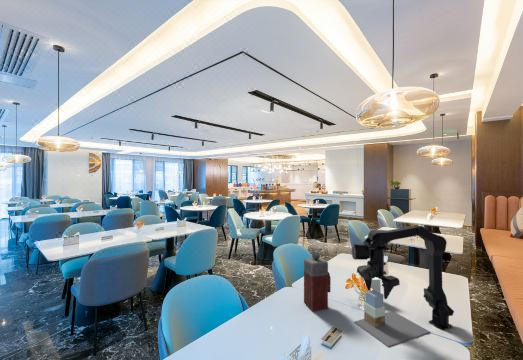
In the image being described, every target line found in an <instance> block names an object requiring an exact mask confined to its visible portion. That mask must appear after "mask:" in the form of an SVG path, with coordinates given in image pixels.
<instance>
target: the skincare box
mask: <svg viewBox="0 0 523 360" xmlns="http://www.w3.org/2000/svg"><path fill="white" fill-rule="evenodd" d="M371 288H372V289H373V290H375V291H377V292H379V293H381V279H379V278H377V277H375V278H372V283H371Z"/></svg>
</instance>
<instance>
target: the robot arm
mask: <svg viewBox="0 0 523 360" xmlns="http://www.w3.org/2000/svg"><path fill="white" fill-rule="evenodd" d="M417 236H418V237H419V238H420V239H422V240H423V241H424V247H425V249H426V251H427V255H428V287H427V288H425V287H424V288H423V296H422V297H424V300H425V301H426V303H428V305H429V307H430V308H432V311H431V320H428V324H429V323H430V324H431V325H433V326H434V327H438V328H439V329H441V330H443V331H445V330H448V329H449V328H453V327H454V326H453V324H451V323H450V321H449V320H450V318H449V317H450V316H451V317H452V316H454V313H455V311H454V309H452V307H451V306H450V305H448V300H447V295H446V294H445V291H444V289H443V255H444V253H445V252H446V248H447V245H448V244H447V243H448V242H447V239H446V238H445V237H444V236H441V235H438V234H437V233H434V232H431V231H430V230H428V229H427V228H425V227H424V226H423V225H422V226H421V225H419V224H414V225H411V226H406V227H400V228H394V229H390V230H387V229H385V230H384V229H383V230H382V229H372V230H370V231H369V233H368V235H367V237H366V238H365V239H364V241H363V243H353V244H352V247H351V257H352V259H353V260H356V261H357V260H360V261H361V260H362V261H363V260H366V261H367V260H368V261H367V263H366V264H365V265H359V266H358V267H356V273H357V274H359V276H360V277H361V278H362V279H363V281H364V284H365V288H366V287H367V290H368V291H369V290H370V288H371V283H372V278H375V277H377V278H379V279H380V281H381V283H382V284H381V286H382V287H383V300H387V299H388V298H389V295H390V294H391V292H392V290H393V289H394V287H397V286H400V279H399V278H398V277H397V276H394V275H391V274H390V275H386V274H387V272H386V271H385V266H386V265H387V262H385V251H390V248H388V246H386V245H387V244H388V243H391V242H393V241H396V240H401V239H406V238H411V237H417Z"/></svg>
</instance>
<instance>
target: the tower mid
mask: <svg viewBox="0 0 523 360" xmlns="http://www.w3.org/2000/svg"><path fill="white" fill-rule="evenodd" d="M363 307H364V308H363V310H364V311H363V313H364V312H366V313H367V314H369V315H371V316H372V317H374V318H378V317H381V316H385V313H386V306H385V305H384V304H383V306H381V307H378V308H374V307H372V306H370V305H368V304H367V303H366V301H365V302H364V305H363Z"/></svg>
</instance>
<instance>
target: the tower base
mask: <svg viewBox="0 0 523 360" xmlns="http://www.w3.org/2000/svg"><path fill="white" fill-rule="evenodd" d="M363 313H364V314H363V316H364V317H363V319H364V321H366V322H367V323H369V324H370V325H372V326H373V327H378V326H382V325H385V316H381V317H378V318H374V317H372V316H371V315H369V314H367V313H366V312H364V311H363Z"/></svg>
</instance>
